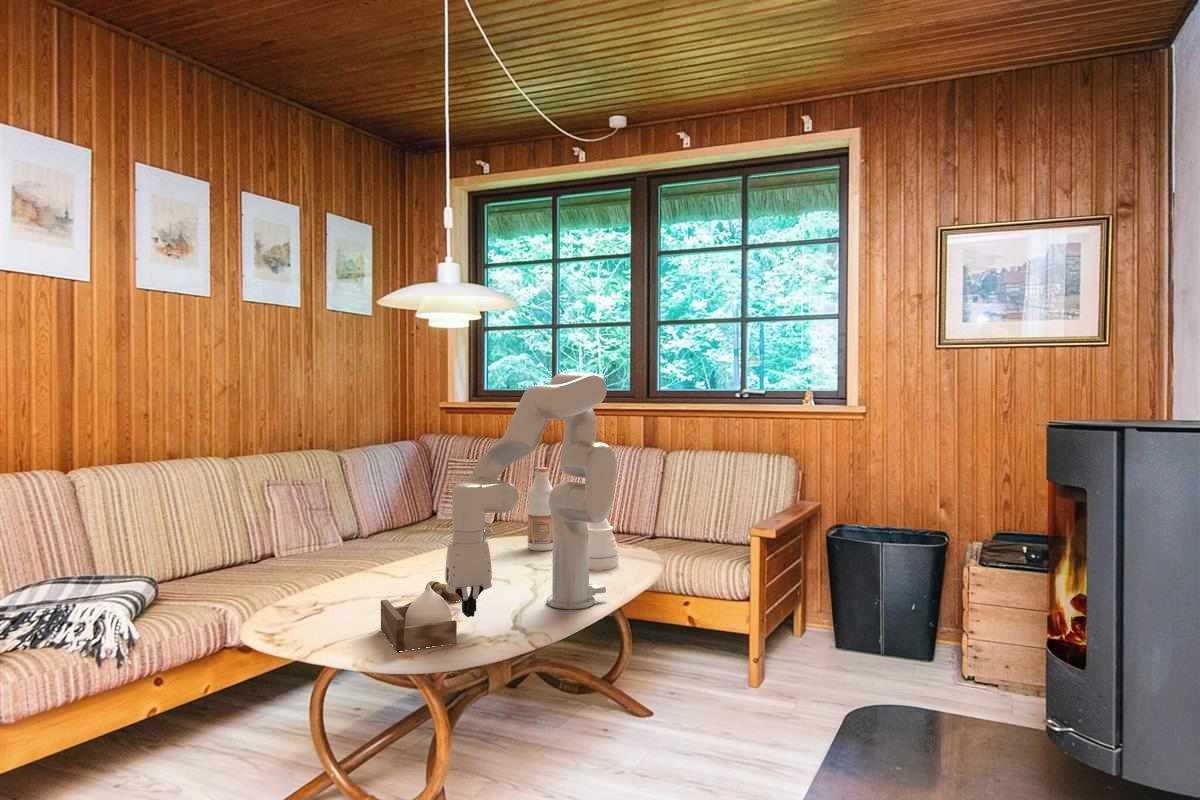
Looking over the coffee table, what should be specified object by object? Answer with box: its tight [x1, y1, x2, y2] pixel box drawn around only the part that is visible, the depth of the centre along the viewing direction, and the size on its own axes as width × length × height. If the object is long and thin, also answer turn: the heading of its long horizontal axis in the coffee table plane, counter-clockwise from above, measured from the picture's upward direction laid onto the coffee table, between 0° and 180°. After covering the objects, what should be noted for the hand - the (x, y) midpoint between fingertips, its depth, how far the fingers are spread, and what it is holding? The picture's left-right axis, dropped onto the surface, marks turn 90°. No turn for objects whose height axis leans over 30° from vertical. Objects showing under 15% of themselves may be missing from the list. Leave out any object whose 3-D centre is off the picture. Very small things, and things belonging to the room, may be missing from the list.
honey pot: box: [586, 518, 619, 570], centre depth 250 cm, size 13×13×18 cm
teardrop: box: [405, 583, 453, 627], centre depth 180 cm, size 11×11×12 cm
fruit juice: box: [527, 466, 554, 552], centre depth 274 cm, size 9×9×28 cm
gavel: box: [403, 580, 462, 606], centre depth 203 cm, size 21×5×10 cm
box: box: [380, 599, 458, 653], centre depth 178 cm, size 13×17×7 cm
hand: (469, 615), depth 184 cm, fingers closed
